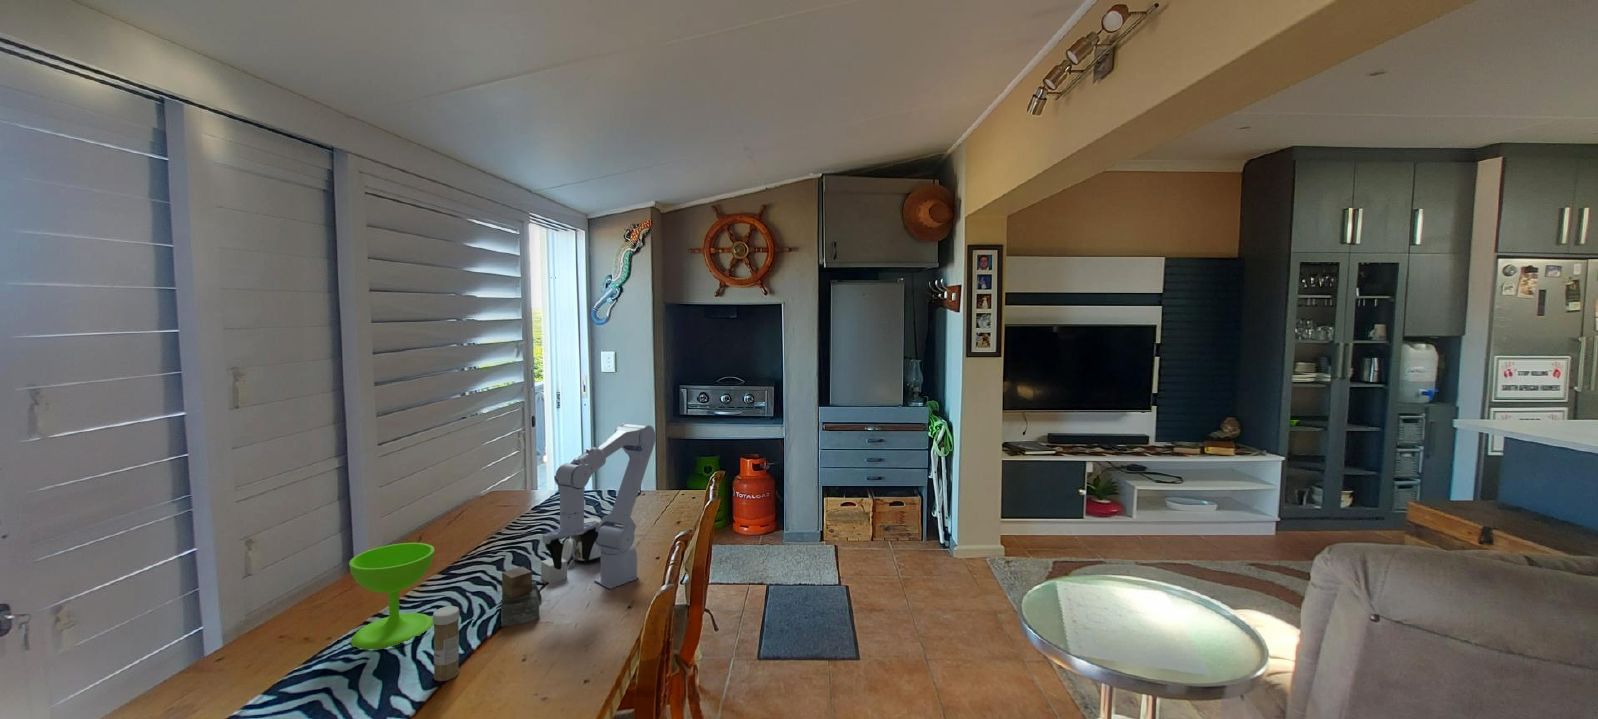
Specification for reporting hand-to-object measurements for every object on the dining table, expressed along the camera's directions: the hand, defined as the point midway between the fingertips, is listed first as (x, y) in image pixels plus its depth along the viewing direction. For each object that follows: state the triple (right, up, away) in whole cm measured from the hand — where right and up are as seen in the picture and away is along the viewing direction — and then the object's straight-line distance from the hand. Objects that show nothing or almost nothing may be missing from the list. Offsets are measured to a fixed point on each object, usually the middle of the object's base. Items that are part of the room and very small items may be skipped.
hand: (571, 563), depth 151 cm
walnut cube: (-12, -6, -4) cm, 14 cm away
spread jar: (-8, -9, +29) cm, 31 cm away
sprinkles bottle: (-13, -12, -31) cm, 36 cm away
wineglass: (-35, -11, -15) cm, 39 cm away
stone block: (-11, -11, -3) cm, 16 cm away
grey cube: (-11, -10, +16) cm, 21 cm away
